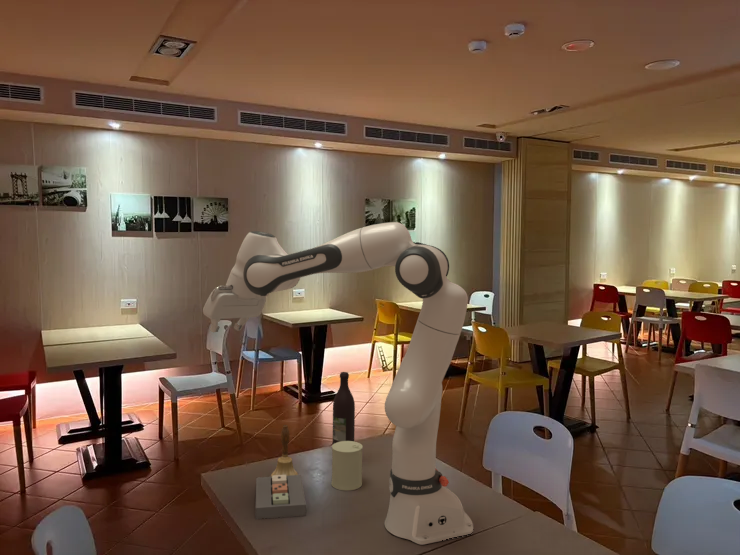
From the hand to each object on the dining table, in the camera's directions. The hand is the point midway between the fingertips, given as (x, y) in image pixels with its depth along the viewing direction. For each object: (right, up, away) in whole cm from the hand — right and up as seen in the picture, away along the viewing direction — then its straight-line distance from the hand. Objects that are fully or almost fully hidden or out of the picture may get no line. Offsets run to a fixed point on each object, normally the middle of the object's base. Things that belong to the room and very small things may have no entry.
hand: (225, 330), depth 158 cm
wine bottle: (+32, -46, +26) cm, 61 cm away
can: (+33, -47, +11) cm, 59 cm away
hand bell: (+14, -46, +16) cm, 51 cm away
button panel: (+15, -47, -1) cm, 50 cm away
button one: (+14, -45, +5) cm, 48 cm away
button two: (+16, -46, -7) cm, 49 cm away
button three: (+15, -46, -1) cm, 48 cm away
